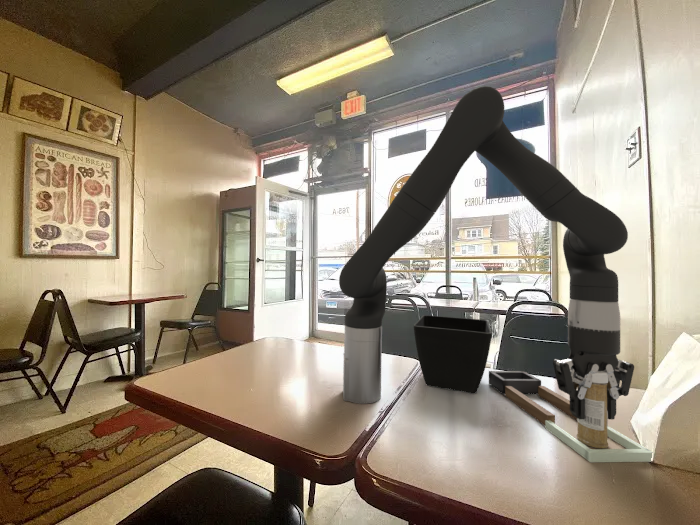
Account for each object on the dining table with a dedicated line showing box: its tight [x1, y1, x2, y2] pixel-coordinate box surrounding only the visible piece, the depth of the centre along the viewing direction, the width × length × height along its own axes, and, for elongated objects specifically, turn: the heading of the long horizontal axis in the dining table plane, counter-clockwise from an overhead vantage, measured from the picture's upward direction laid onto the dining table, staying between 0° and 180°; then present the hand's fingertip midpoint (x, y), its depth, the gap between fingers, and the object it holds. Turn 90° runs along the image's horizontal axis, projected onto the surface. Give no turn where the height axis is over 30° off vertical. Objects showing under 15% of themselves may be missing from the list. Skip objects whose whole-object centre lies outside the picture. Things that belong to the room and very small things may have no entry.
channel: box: [504, 385, 577, 427], centre depth 67 cm, size 10×15×2 cm, turn 2°
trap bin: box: [488, 370, 542, 395], centre depth 79 cm, size 10×7×4 cm
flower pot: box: [413, 314, 493, 394], centre depth 83 cm, size 19×19×17 cm
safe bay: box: [544, 420, 654, 463], centre depth 54 cm, size 11×10×2 cm
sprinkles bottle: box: [576, 371, 609, 449], centre depth 55 cm, size 5×5×13 cm
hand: (592, 417), depth 54 cm, fingers open, 5 cm apart
